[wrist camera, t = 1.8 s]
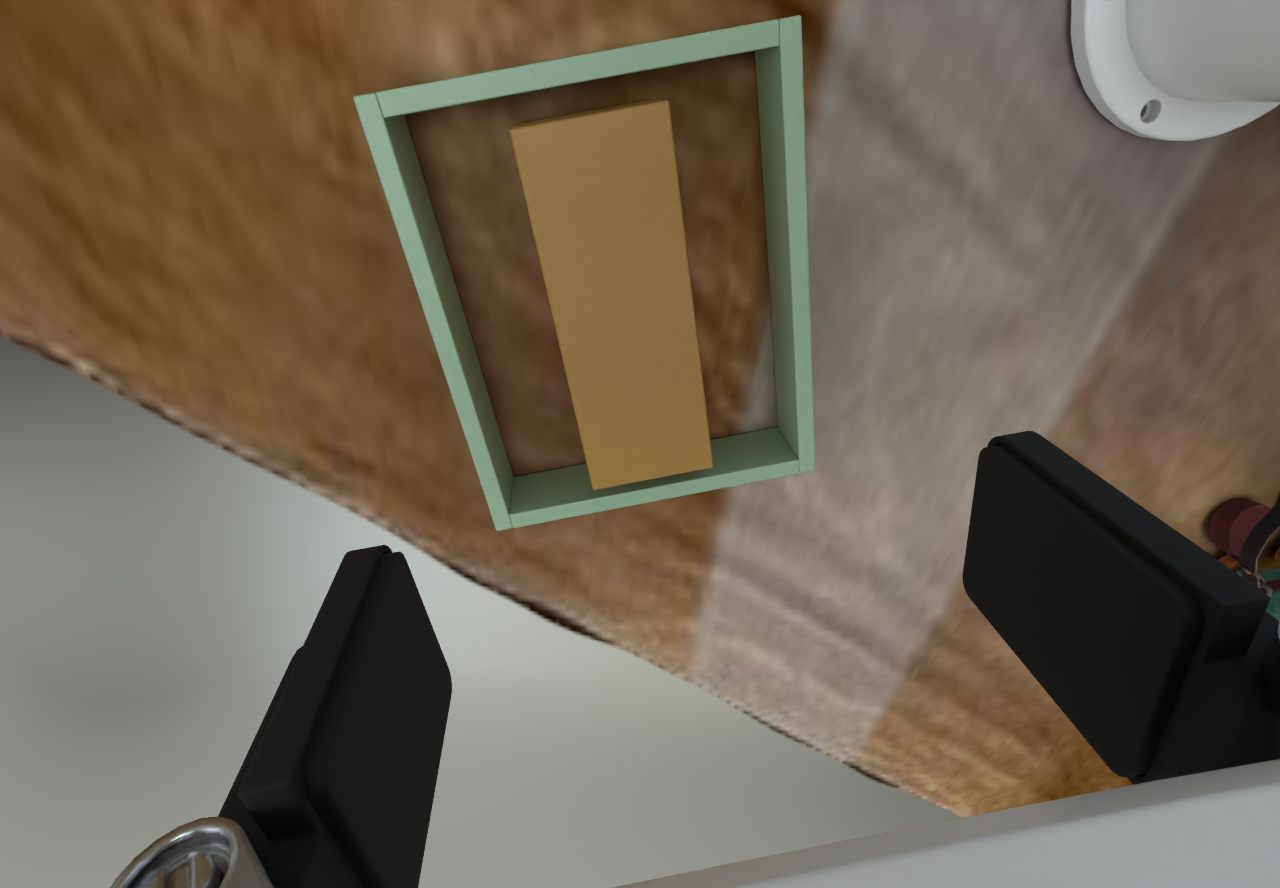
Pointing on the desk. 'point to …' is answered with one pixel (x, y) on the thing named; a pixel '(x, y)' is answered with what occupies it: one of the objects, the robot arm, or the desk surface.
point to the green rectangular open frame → (786, 251)
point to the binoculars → (1249, 544)
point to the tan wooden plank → (619, 286)
